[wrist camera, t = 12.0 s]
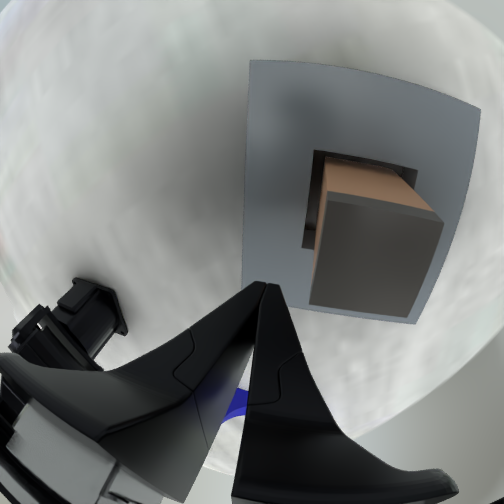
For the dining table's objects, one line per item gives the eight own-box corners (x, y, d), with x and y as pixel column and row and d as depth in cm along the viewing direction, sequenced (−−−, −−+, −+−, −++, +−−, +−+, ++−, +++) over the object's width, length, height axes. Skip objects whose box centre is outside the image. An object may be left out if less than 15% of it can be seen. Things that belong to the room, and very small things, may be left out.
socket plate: (408, 301, 18) (415, 324, 15) (250, 276, 20) (241, 297, 18) (460, 107, 10) (480, 109, 8) (260, 67, 13) (249, 59, 11)
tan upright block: (378, 230, 16) (407, 317, 9) (316, 220, 17) (308, 304, 10) (391, 168, 14) (444, 222, 7) (324, 156, 15) (327, 199, 8)
